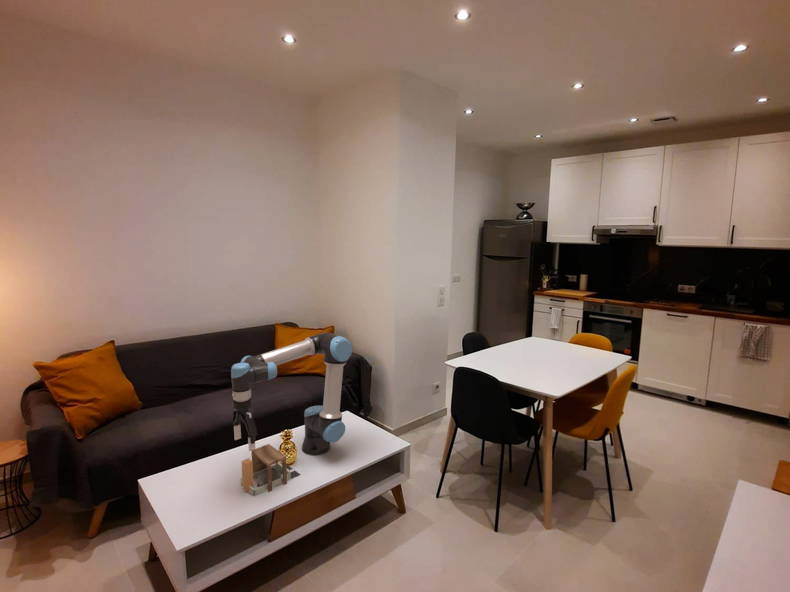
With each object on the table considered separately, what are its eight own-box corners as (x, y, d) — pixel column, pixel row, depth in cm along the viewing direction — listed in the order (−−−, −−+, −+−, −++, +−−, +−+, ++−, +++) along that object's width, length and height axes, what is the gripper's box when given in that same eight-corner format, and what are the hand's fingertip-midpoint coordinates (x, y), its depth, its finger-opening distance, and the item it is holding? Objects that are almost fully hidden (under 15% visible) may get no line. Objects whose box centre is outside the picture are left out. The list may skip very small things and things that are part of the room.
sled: (277, 468, 205) (276, 442, 203) (290, 478, 196) (289, 452, 194) (238, 484, 191) (237, 457, 189) (251, 497, 182) (249, 468, 180)
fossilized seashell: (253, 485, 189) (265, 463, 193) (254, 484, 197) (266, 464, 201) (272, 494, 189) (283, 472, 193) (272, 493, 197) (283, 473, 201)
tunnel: (269, 469, 204) (268, 443, 202) (287, 483, 193) (286, 456, 191) (252, 477, 198) (251, 450, 196) (269, 492, 187) (268, 463, 185)
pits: (287, 465, 209) (287, 464, 209) (300, 474, 200) (300, 474, 200) (278, 468, 205) (278, 468, 205) (291, 478, 197) (291, 478, 197)
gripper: (221, 393, 186) (224, 437, 189) (247, 409, 169) (250, 458, 172) (237, 388, 192) (240, 432, 195) (264, 404, 174) (266, 451, 178)
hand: (244, 444), depth 183 cm, fingers open, 13 cm apart
